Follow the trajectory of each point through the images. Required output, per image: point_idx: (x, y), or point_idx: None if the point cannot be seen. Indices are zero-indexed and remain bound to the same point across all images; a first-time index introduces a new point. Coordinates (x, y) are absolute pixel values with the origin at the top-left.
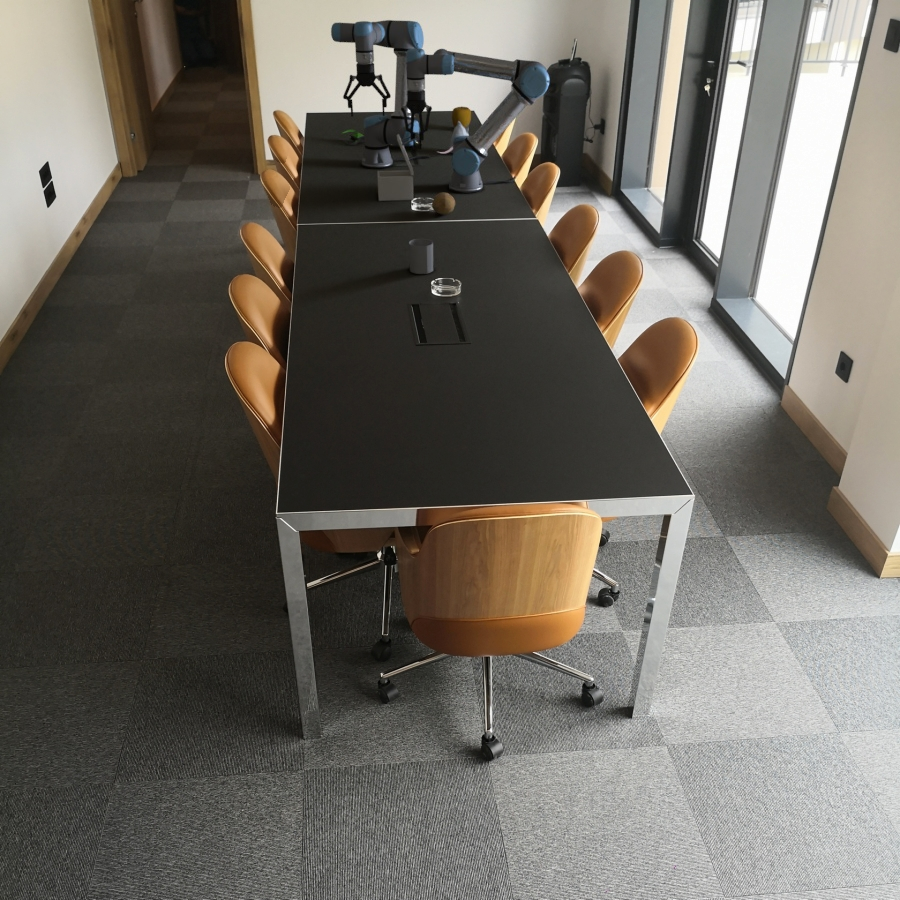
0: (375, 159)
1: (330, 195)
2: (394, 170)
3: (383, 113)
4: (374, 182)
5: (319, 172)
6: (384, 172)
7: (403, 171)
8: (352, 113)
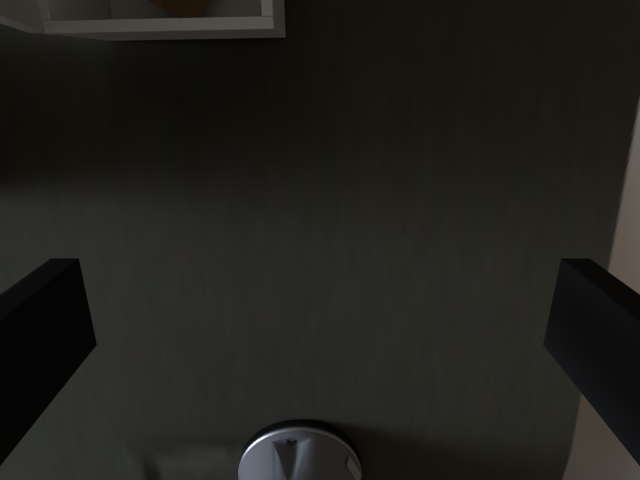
0: (304, 452)
1: (532, 34)
2: (157, 28)
3: (42, 274)
4: (308, 243)
5: (535, 392)
6: (226, 17)
7: (98, 20)
8: (593, 281)
